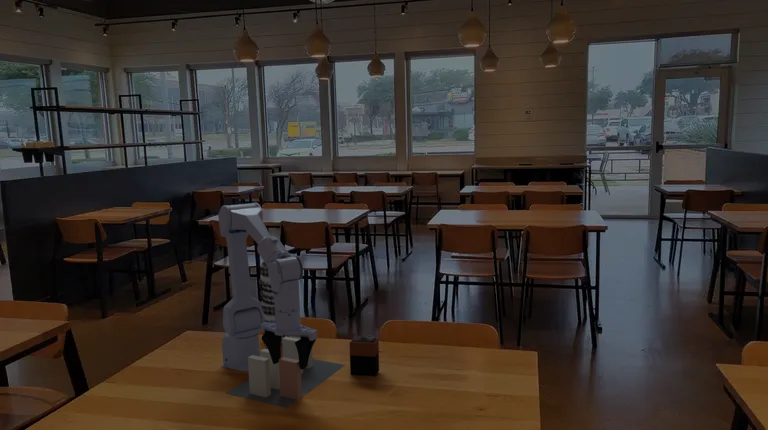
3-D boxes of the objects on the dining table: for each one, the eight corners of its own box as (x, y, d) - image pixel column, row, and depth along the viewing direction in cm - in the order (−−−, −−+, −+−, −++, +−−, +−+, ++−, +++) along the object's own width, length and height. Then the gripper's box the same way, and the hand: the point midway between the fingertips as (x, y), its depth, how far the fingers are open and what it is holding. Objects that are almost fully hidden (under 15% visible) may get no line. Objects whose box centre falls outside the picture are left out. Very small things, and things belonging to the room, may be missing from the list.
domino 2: (278, 389, 136) (276, 354, 135) (261, 385, 138) (259, 350, 137) (282, 386, 137) (280, 351, 136) (265, 383, 140) (264, 348, 138)
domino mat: (225, 394, 135) (225, 393, 135) (289, 355, 158) (289, 354, 158) (287, 409, 127) (287, 407, 127) (345, 366, 150) (345, 364, 150)
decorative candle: (277, 332, 177) (273, 254, 173) (298, 338, 172) (295, 257, 168) (255, 341, 169) (250, 260, 166) (276, 347, 164) (272, 263, 161)
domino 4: (298, 399, 130) (296, 362, 129) (280, 395, 133) (278, 359, 131) (302, 396, 132) (300, 360, 131) (284, 393, 134) (282, 357, 133)
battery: (376, 378, 142) (375, 340, 141) (350, 376, 144) (348, 338, 142) (379, 371, 146) (378, 334, 145) (354, 369, 148) (353, 333, 146)
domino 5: (309, 368, 148) (308, 335, 147) (293, 365, 150) (292, 333, 149) (312, 366, 149) (311, 333, 148) (297, 363, 152) (295, 331, 150)
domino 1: (266, 397, 132) (264, 360, 131) (249, 393, 134) (247, 357, 133) (270, 394, 133) (269, 358, 132) (254, 390, 136) (252, 355, 134)
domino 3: (299, 375, 144) (298, 341, 143) (283, 371, 146) (282, 338, 145) (303, 372, 145) (301, 339, 144) (287, 369, 148) (285, 336, 146)
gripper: (251, 310, 129) (254, 366, 131) (303, 317, 122) (306, 376, 124) (270, 301, 135) (272, 355, 137) (321, 308, 129) (323, 365, 131)
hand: (290, 365), depth 131 cm, fingers open, 7 cm apart
